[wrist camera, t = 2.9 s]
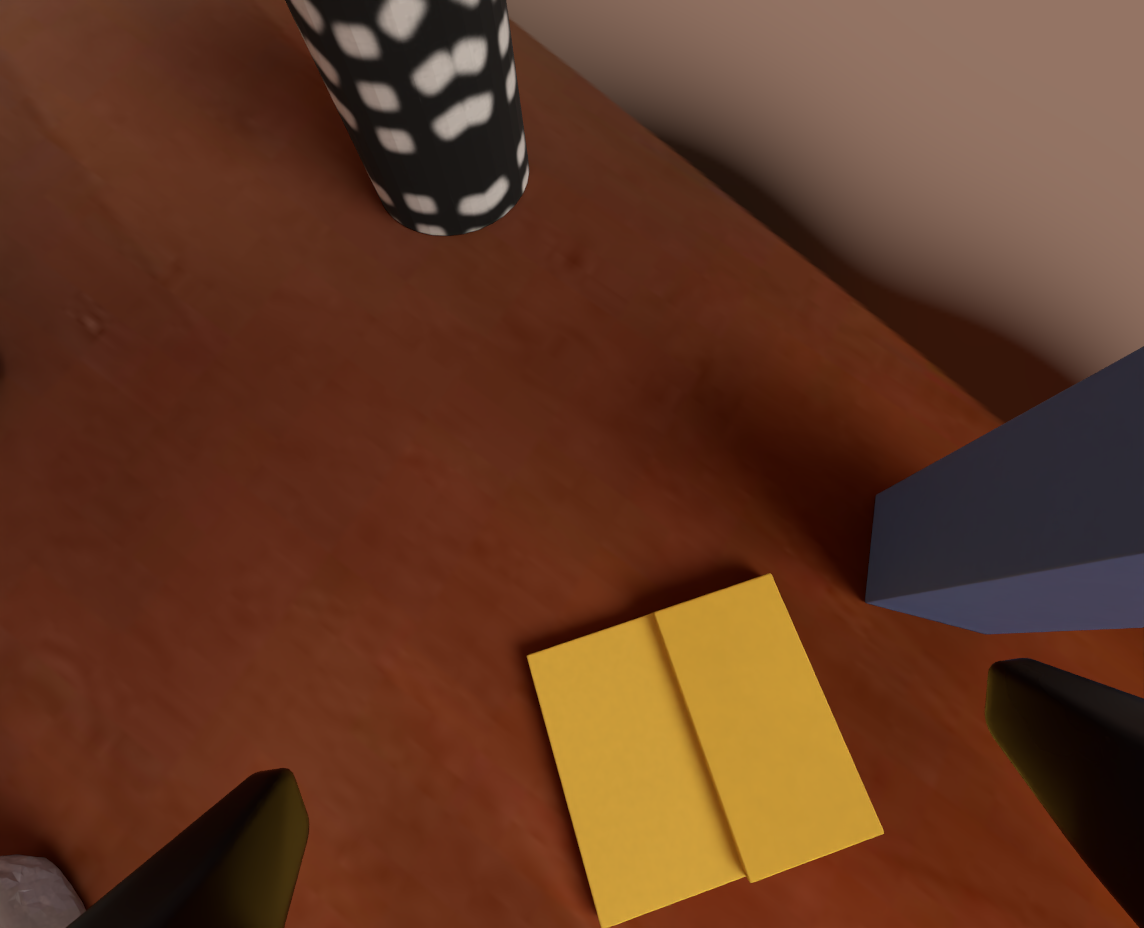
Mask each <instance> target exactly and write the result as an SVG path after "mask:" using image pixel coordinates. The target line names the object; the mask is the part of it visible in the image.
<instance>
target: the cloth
mask: <svg viewBox="0 0 1144 928" xmlns="http://www.w3.org/2000/svg"><path fill="white" fill-rule="evenodd" d="M527 660H528V664H529V667H530V671H531V675H532V678H533V682H534V685H535V689H536V693H537V696H538V700H539V704H540V707H541V711H542V715H543V718H544V722H545V726H546V729H547V733H548V736H549V740H550V744H551V747H552V751H553V755H554V758H555V762H556V766H557V769H558V773H559V777H560V780H561V784H562V787H563V791H564V795H565V798H566V802H567V806H568V809H569V813H570V817H571V820H572V824H573V828H574V831H575V835H576V839H577V842H578V846H579V849H580V853H581V857H582V860H583V864H584V868H585V871H586V875H587V879H588V882H589V886H590V890H591V893H592V897H593V900H594V904H595V908H596V911H597V915H598V919H599V922H600V926H601V928H608V927H611V926H614V925H616V924H619V923H622V922H624V921H627V920H630V919H633V918H635V917H638V916H641V915H643V914H646V913H649V912H651V911H654V910H657V909H659V908H662V907H665V906H667V905H670V904H673V903H676V902H678V901H681V900H684V899H686V898H689V897H692V896H694V895H697V894H700V893H702V892H705V891H708V890H710V889H713V888H716V887H718V886H721V885H724V884H727V883H729V882H732V881H735V880H737V879H740V878H743V877H745V876H746V877H747V879H748V880H749V882H750V883H753V882H756V881H758V880H761V879H764V878H766V877H769V876H772V875H774V874H777V873H780V872H782V871H785V870H788V869H790V868H793V867H796V866H798V865H801V864H804V863H807V862H809V861H812V860H815V859H817V858H820V857H823V856H825V855H828V854H831V853H833V852H836V851H839V850H841V849H844V848H847V847H849V846H852V845H855V844H857V843H860V842H863V841H865V840H868V839H871V838H873V837H876V836H879V835H882V834H884V831H883V829H882V826H881V824H880V822H879V819H878V817H877V815H876V813H875V810H874V808H873V806H872V803H871V801H870V799H869V797H868V794H867V792H866V790H865V787H864V785H863V783H862V781H861V778H860V776H859V774H858V771H857V769H856V767H855V765H854V762H853V760H852V758H851V755H850V753H849V751H848V749H847V746H846V744H845V742H844V739H843V737H842V735H841V733H840V730H839V728H838V726H837V723H836V721H835V719H834V717H833V714H832V712H831V710H830V707H829V705H828V703H827V700H826V698H825V696H824V694H823V691H822V689H821V687H820V684H819V682H818V680H817V678H816V675H815V673H814V671H813V668H812V666H811V664H810V662H809V659H808V657H807V655H806V652H805V650H804V648H803V646H802V643H801V641H800V639H799V636H798V634H797V632H796V630H795V627H794V625H793V623H792V620H791V618H790V616H789V614H788V611H787V609H786V607H785V604H784V602H783V600H782V598H781V595H780V593H779V591H778V588H777V586H776V584H775V582H774V579H773V577H772V575H771V574H770V573H769V574H766V575H763V576H760V577H757V578H754V579H751V580H748V581H745V582H742V583H739V584H736V585H733V586H730V587H727V588H724V589H721V590H718V591H715V592H712V593H709V594H706V595H703V596H700V597H697V598H694V599H691V600H688V601H685V602H683V603H680V604H677V605H674V606H671V607H668V608H665V609H662V610H659V611H656V612H654V613H651V614H648V615H645V616H642V617H639V618H636V619H633V620H630V621H628V622H625V623H622V624H619V625H616V626H613V627H610V628H607V629H604V630H601V631H598V632H595V633H592V634H589V635H586V636H583V637H580V638H577V639H574V640H571V641H568V642H565V643H562V644H559V645H556V646H553V647H550V648H547V649H544V650H541V651H538V652H535V653H532V654H529V655H527Z"/></svg>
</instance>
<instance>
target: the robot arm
mask: <svg viewBox="0 0 1144 928" xmlns="http://www.w3.org/2000/svg"><path fill="white" fill-rule="evenodd" d="M985 719H986V723H987V726H988V729H989V731H990V733H991V734H992V736H993V738H994V739H995V741H996V742H997V743H998V745H999V746H1000V747H1001V749H1002V750H1003V752H1004V753H1005V754H1006V756H1007V757H1008V758H1009V760H1010V761H1011V763H1012V764H1013V765H1014V767H1015V768H1016V769H1017V771H1018V772H1019V774H1020V775H1021V776H1022V778H1023V779H1024V780H1025V782H1026V783H1027V785H1028V786H1029V787H1030V789H1031V790H1032V791H1033V793H1034V794H1035V796H1036V797H1037V798H1038V800H1039V801H1040V802H1041V804H1042V805H1043V807H1044V808H1045V809H1046V811H1047V812H1048V813H1049V815H1050V816H1051V818H1052V819H1053V820H1054V822H1055V823H1056V824H1057V826H1058V827H1059V829H1060V830H1061V831H1062V833H1063V834H1064V836H1065V837H1066V838H1067V840H1068V841H1069V842H1070V844H1071V845H1072V846H1073V848H1074V849H1075V850H1076V851H1077V853H1078V854H1079V855H1080V857H1081V858H1082V859H1083V861H1084V862H1085V863H1086V864H1087V866H1088V867H1089V868H1090V869H1091V871H1092V872H1093V873H1094V874H1095V875H1096V877H1097V878H1098V879H1099V880H1100V882H1101V883H1102V884H1103V885H1104V886H1105V888H1106V889H1107V890H1108V891H1109V892H1110V894H1111V895H1112V896H1113V897H1114V898H1115V899H1116V901H1117V902H1118V903H1119V904H1120V905H1121V906H1122V908H1123V909H1124V910H1125V911H1126V912H1127V914H1128V915H1129V916H1130V917H1131V918H1132V919H1133V921H1134V922H1135V923H1136V924H1137V925H1138V927H1139V928H1144V699H1143V698H1140V697H1137V696H1135V695H1132V694H1129V693H1126V692H1123V691H1120V690H1118V689H1115V688H1112V687H1109V686H1106V685H1104V684H1101V683H1098V682H1095V681H1092V680H1089V679H1087V678H1084V677H1081V676H1078V675H1075V674H1072V673H1070V672H1067V671H1064V670H1061V669H1058V668H1055V667H1053V666H1050V665H1047V664H1044V663H1041V662H1039V661H1036V660H1033V659H1028V658H1018V659H1011V660H1005V661H998V662H995V663H994V664H992V665H991V667H990V668H989V671H988V680H987V692H986V704H985ZM308 834H309V818H308V814H307V811H306V808H305V805H304V802H303V799H302V797H301V794H300V791H299V788H298V785H297V782H296V779H295V777H294V775H293V773H292V772H291V771H290V770H289V769H286V768H279V769H272V770H266V771H260V772H257V773H254V774H252V775H251V776H249V777H248V778H247V779H246V780H244V781H243V782H242V783H241V784H240V785H238V786H237V787H236V788H235V789H233V790H232V791H231V792H230V793H229V794H227V795H226V796H225V797H224V798H223V799H221V800H220V801H219V802H218V803H216V804H215V805H214V806H213V807H212V808H210V809H209V810H208V811H207V812H206V813H204V814H203V815H202V816H201V817H199V818H198V819H197V820H196V821H195V822H193V823H192V824H191V825H190V826H188V827H187V828H186V829H185V830H184V831H182V832H181V833H180V834H179V835H178V836H176V837H175V838H174V839H173V840H171V841H170V842H169V843H168V844H167V845H165V846H164V847H163V848H162V849H161V850H159V851H158V852H157V853H156V854H154V855H153V856H152V857H151V858H150V859H148V860H147V861H146V862H145V863H143V864H142V865H141V866H140V867H139V868H137V869H136V870H135V871H134V872H133V873H131V874H130V875H129V876H128V877H126V878H125V879H124V880H123V881H122V882H120V883H119V884H118V885H117V886H115V887H114V888H113V889H112V890H111V891H109V892H108V893H107V894H106V895H105V896H103V897H102V898H101V899H100V900H98V901H97V902H96V903H95V904H94V905H92V906H91V907H90V908H89V909H88V910H86V911H85V912H84V913H83V914H81V915H80V916H79V917H78V918H77V919H75V920H74V921H73V922H72V923H70V924H69V925H68V926H67V927H66V928H284V926H285V922H286V919H287V915H288V911H289V907H290V904H291V900H292V896H293V892H294V889H295V885H296V881H297V877H298V874H299V870H300V866H301V862H302V859H303V855H304V851H305V847H306V844H307V839H308Z"/></svg>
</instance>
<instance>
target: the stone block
mask: <svg viewBox="0 0 1144 928" xmlns="http://www.w3.org/2000/svg"><path fill="white" fill-rule="evenodd" d="M85 911H86V910H85V908H84V905H83V902H82V901H81V899H80V898H79V896H78V895H77V893H76V892H75V890H74V889H73V887H72V885H71V884H70V883H69V881H68V880H67V879H66V878H65V876H64V875H63V874H62V872H61V871H60V869H59V868H58V867H56V866H55V865H54V864H53V863H52V862H51V861H49V860H48V859H47V858H43V857H33V856H25V855H8V856H0V928H66V927H67V926H68V925H69V924H70V923H72V922H73V921H74V920H75V919H77V918H78V917H79V916H80V915H81V914H83V913H84V912H85Z"/></svg>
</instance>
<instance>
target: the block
mask: <svg viewBox="0 0 1144 928" xmlns="http://www.w3.org/2000/svg"><path fill="white" fill-rule="evenodd" d="M865 602H866V603H868V604H872V605H876V606H880V607H883V608H887V609H891V610H895V611H899V612H903V613H906V614H910V615H914V616H918V617H922V618H926V619H929V620H933V621H937V622H941V623H945V624H949V625H953V626H956V627H960V628H964V629H968V630H972V631H976V632H979V633H983V634H1002V633H1026V632H1049V631H1072V630H1095V629H1119V628H1142V627H1144V347H1142V348H1140V349H1138V350H1137V351H1135V352H1133V353H1131V354H1129V355H1127V356H1126V357H1124V358H1122V359H1120V360H1118V361H1117V362H1115V363H1113V364H1111V365H1109V366H1108V367H1106V368H1104V369H1102V370H1101V371H1099V372H1097V373H1095V374H1093V375H1091V376H1090V377H1088V378H1086V379H1084V380H1082V381H1081V382H1079V383H1077V384H1075V385H1073V386H1072V387H1070V388H1068V389H1066V390H1064V391H1063V392H1061V393H1059V394H1057V395H1055V396H1054V397H1052V398H1050V399H1048V400H1046V401H1045V402H1043V403H1041V404H1039V405H1037V406H1036V407H1034V408H1032V409H1030V410H1028V411H1027V412H1025V413H1023V414H1021V415H1019V416H1018V417H1016V418H1014V419H1012V420H1010V421H1009V422H1007V423H1005V424H1003V425H1001V426H999V427H998V428H996V429H994V430H992V431H990V432H989V433H987V434H985V435H983V436H981V437H980V438H978V439H976V440H974V441H972V442H971V443H969V444H967V445H965V446H963V447H962V448H960V449H958V450H956V451H954V452H953V453H951V454H949V455H947V456H945V457H944V458H942V459H940V460H938V461H936V462H935V463H933V464H931V465H929V466H927V467H926V468H924V469H922V470H920V471H918V472H917V473H915V474H913V475H911V476H909V477H908V478H906V479H904V480H902V481H900V482H899V483H897V484H895V485H893V486H891V487H890V488H888V489H886V490H884V491H882V492H881V493H879V494H877V495H876V499H875V509H874V518H873V528H872V538H871V548H870V558H869V567H868V577H867V587H866V597H865Z"/></svg>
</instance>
